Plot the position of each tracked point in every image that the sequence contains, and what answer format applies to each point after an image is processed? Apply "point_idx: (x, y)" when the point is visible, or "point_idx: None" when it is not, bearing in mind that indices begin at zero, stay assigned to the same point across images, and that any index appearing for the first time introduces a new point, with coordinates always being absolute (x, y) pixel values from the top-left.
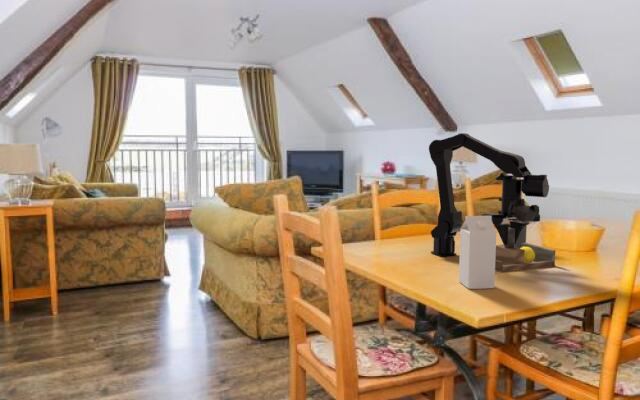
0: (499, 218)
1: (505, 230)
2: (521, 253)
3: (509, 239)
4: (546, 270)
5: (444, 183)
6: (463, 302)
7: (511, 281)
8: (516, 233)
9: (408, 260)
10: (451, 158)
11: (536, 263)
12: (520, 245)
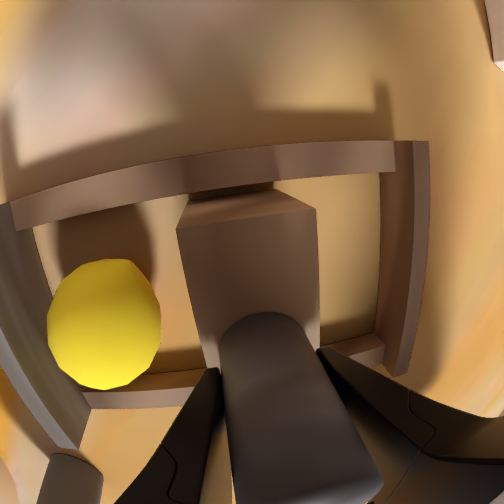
0: None
1: (454, 422)
2: (216, 216)
3: (319, 374)
4: (100, 103)
5: None
6: None
7: (418, 5)
8: (212, 454)
9: (495, 363)
10: None
11: (110, 172)
12: (66, 470)
